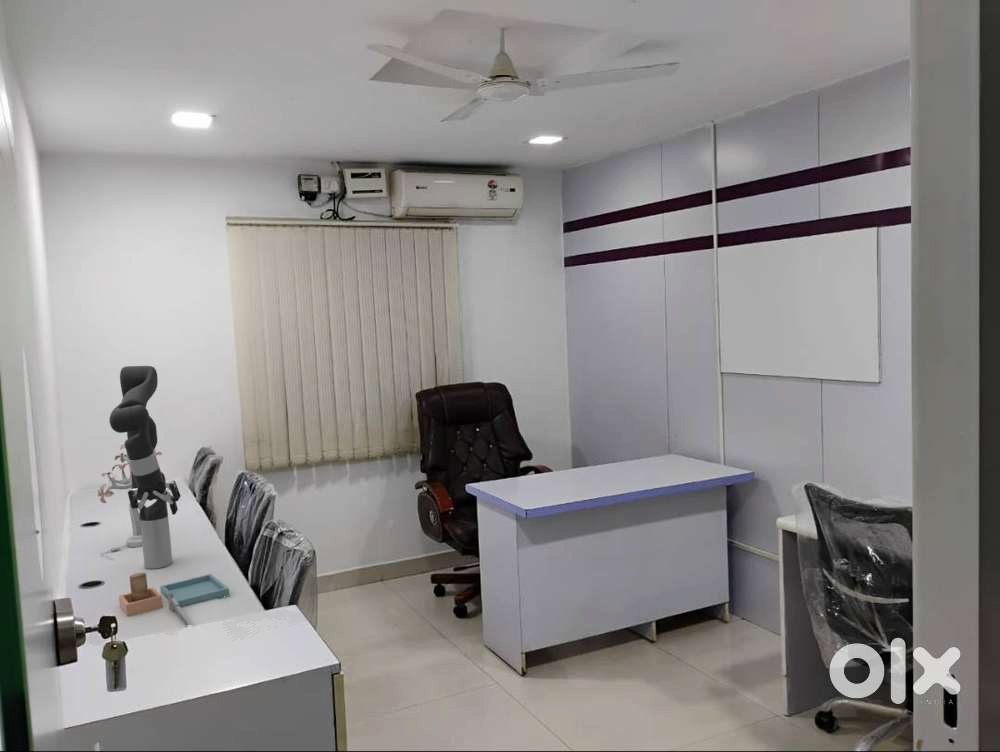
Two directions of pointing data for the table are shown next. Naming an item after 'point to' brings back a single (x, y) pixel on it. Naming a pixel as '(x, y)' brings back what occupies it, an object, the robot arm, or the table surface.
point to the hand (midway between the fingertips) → (160, 515)
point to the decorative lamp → (134, 513)
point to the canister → (138, 587)
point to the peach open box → (140, 603)
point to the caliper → (177, 608)
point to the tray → (195, 590)
